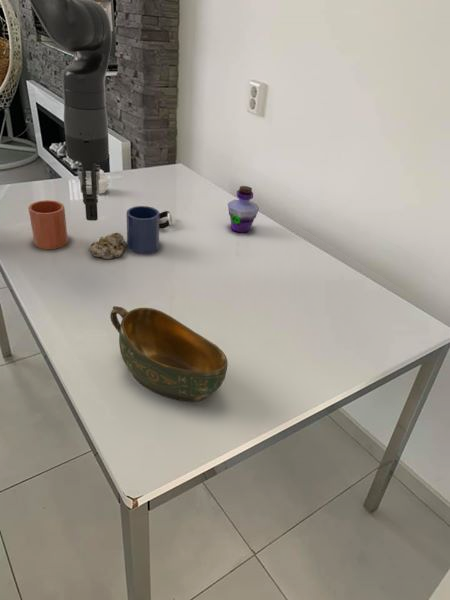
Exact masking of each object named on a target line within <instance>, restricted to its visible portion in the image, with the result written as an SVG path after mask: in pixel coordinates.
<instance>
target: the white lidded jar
mask: <svg viewBox="0 0 450 600" xmlns="http://www.w3.org/2000/svg"><path fill="white" fill-rule="evenodd" d="M109 183H110V178H109V177H108V176H107V175H106V173H105V171H104V170H103V169H101V168H100V180H99V193H98V194H99V195H100V194H105V193H106V191H107V190H108V187H109ZM98 194H97V195H98Z"/></svg>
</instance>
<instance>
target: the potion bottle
mask: <svg viewBox="0 0 450 600" xmlns="http://www.w3.org/2000/svg"><path fill="white" fill-rule="evenodd" d="M236 197H237V199H233V200H231V201H229V202H227V208H228V209H227V210H228V215H229V218H230V229H231V231H232V232H235V233H237V234H247V233H249V232H251V229H252V226H253V223H254V221H255V219H256V218H257V215H258V213H259V210H260V207H259V206H258V204H257V203H256V202H254V201H251V200H253V198H254V192H253V188H252V187H251V186H248V185H241V186H239V188H238V190H237V191H236Z"/></svg>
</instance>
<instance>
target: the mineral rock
mask: <svg viewBox="0 0 450 600" xmlns="http://www.w3.org/2000/svg"><path fill="white" fill-rule="evenodd" d="M126 246H127V243H126V241H125V238H124V237H123V235H122V234H121V233H119V232H113V233H111V234H108V235H105V236H101V237H100V238H99V239H98V240H96V241H95V242H93V243H91V244H90V248H89V249H90V252H91V254H92V255H93V256H94V257H96V258H102V259H104V260H109V259H114V258H119V257H121V256H122V254H124V252H125V250H126Z"/></svg>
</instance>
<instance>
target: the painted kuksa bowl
mask: <svg viewBox="0 0 450 600" xmlns="http://www.w3.org/2000/svg"><path fill="white" fill-rule="evenodd" d="M118 315H119V316H120V317H121V318H122V319H121V322H120V321H119V318H118ZM109 318H110V322H111V324H112V325H113V327H114V328H115V329H116V331H117V332H118V334H119V335H118V344H119V345H118V346H119V352H120V356H121V358H122V361H123V363H124V365H125V366H126V368H127V370H128V371H129V372H130V373H131V374H132V377H133V378H134V379H135V380H136V382H138V383H139V384H140V385H142V386H143V387H145V388H146V389H147V390H150V391H152V392H154V393H156V394H158V395H161V396H164V397H168V398H169V399H170V398H171V399H174V400H179V401H185V402H199V401H202V400H205V398H207V397H209V396H210V395H213V394H214V393H215V392H217V390H218V389H220V388H221V386H222V385H223V383H224V381H225V378H226V375H227V372H228V357H227V356H226V354H225V353H224V351H223V350H222V349H221V348H220V347H219V346H218V345H216V344H215V343H214V342H211V341H210V340H208V339H207V338H206V337H205V336H202V335H200V334H199V333H197V332H195V331H194V330H193V329H191V328H190V327H188V326H186V325H185V324H183V323H181V322H180V321H179V320H177V319H176V318H174V317H172V316H171V315H169V314H167V313H165V312H163V311H162V310H159V309H156V308H151V307H137V308H134V309H131V310H129V311H128V310H127V309H125V308H124V307H121V306H116V305H114V306H113V307H112V310H111V312H110V316H109Z"/></svg>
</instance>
